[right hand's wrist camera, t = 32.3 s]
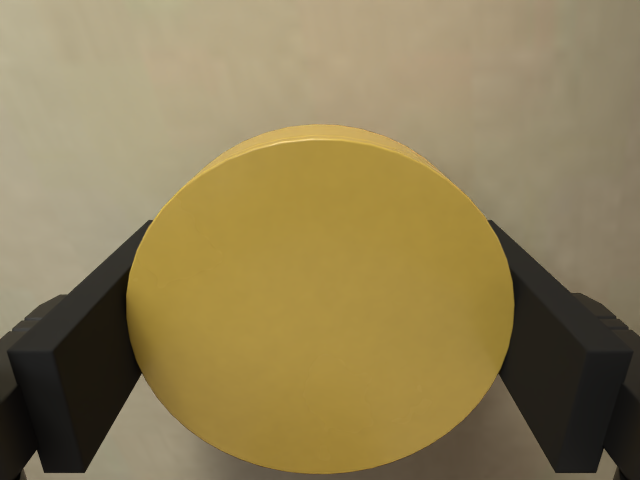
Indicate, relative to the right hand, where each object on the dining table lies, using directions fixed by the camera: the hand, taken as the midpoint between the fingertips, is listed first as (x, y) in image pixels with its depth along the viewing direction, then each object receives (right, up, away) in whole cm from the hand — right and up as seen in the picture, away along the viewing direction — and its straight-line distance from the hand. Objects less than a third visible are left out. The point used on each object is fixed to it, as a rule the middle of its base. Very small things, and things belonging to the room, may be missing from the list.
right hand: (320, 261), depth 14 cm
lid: (0, -1, -3) cm, 4 cm away
